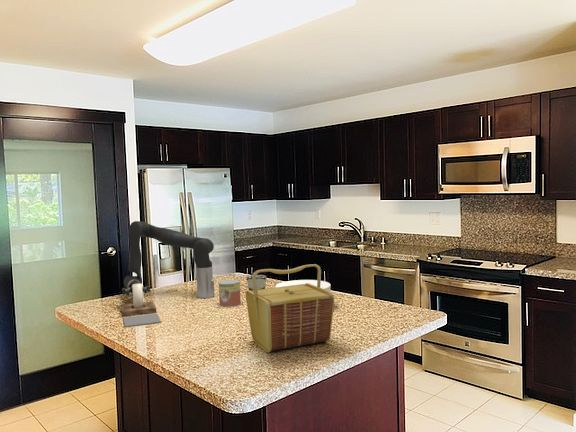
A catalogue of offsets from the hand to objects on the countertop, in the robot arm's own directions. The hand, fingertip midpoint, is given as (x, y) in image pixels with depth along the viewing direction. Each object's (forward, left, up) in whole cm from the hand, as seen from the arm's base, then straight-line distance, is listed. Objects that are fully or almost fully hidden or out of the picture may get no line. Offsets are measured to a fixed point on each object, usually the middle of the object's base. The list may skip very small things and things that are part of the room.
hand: (136, 292), depth 249 cm
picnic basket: (-51, +88, -9) cm, 102 cm away
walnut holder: (0, +6, -9) cm, 11 cm away
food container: (-68, -5, -9) cm, 69 cm away
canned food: (-46, +15, -9) cm, 49 cm away
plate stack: (-78, +40, -9) cm, 88 cm away
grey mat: (0, +26, -9) cm, 28 cm away
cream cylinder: (0, +6, -9) cm, 11 cm away
